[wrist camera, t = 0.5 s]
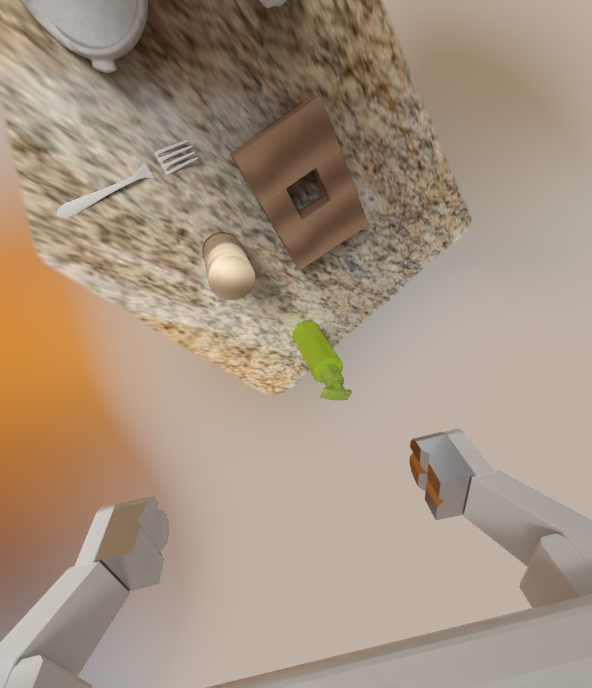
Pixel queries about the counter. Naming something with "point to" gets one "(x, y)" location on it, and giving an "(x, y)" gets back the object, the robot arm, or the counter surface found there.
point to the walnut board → (291, 165)
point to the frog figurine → (272, 3)
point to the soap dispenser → (321, 360)
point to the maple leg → (227, 267)
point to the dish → (93, 26)
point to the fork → (126, 181)
